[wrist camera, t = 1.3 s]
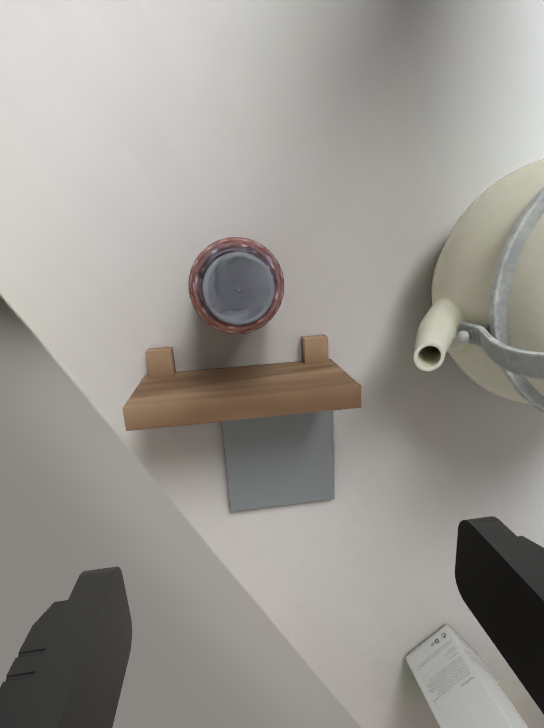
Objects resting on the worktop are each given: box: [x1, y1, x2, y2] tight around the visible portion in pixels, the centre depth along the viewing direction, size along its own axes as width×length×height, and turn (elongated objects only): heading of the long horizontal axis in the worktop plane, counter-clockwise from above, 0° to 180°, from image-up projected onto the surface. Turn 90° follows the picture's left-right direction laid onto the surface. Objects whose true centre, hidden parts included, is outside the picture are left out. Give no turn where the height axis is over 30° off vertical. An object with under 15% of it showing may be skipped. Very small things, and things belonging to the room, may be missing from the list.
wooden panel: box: [123, 335, 361, 431], centre depth 30 cm, size 6×16×8 cm, turn 93°
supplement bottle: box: [189, 237, 284, 334], centre depth 27 cm, size 6×6×11 cm
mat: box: [222, 410, 334, 512], centre depth 36 cm, size 10×10×1 cm
